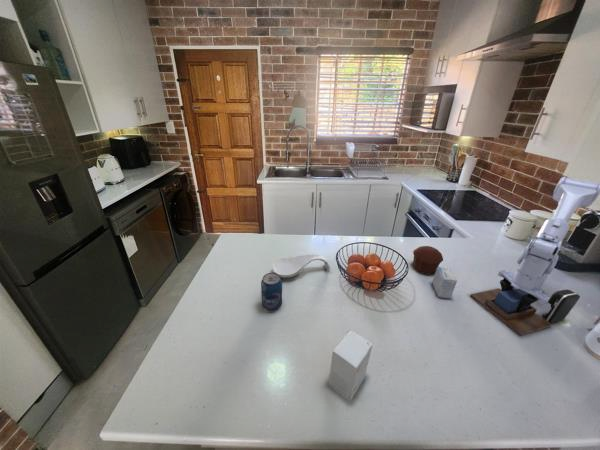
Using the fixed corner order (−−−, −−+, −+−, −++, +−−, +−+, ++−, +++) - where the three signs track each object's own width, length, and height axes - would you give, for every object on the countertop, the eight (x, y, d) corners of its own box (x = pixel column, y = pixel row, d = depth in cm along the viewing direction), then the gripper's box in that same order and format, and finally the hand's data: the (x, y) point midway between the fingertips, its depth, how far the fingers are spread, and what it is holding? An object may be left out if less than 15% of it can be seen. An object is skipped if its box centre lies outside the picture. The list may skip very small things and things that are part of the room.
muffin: (434, 262, 112) (440, 243, 107) (442, 277, 102) (449, 257, 97) (407, 259, 113) (412, 240, 109) (412, 274, 104) (418, 254, 99)
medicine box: (450, 299, 91) (457, 280, 87) (437, 297, 92) (444, 278, 88) (443, 285, 98) (450, 267, 94) (431, 283, 99) (437, 265, 95)
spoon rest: (274, 284, 95) (274, 269, 92) (270, 266, 105) (270, 252, 102) (332, 276, 100) (334, 262, 97) (323, 260, 110) (324, 246, 107)
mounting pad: (498, 290, 96) (501, 284, 95) (550, 326, 81) (555, 320, 80) (470, 296, 93) (473, 290, 91) (519, 335, 77) (523, 329, 76)
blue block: (512, 300, 90) (519, 287, 87) (527, 310, 85) (535, 297, 83) (491, 305, 87) (498, 292, 84) (505, 315, 83) (513, 302, 80)
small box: (344, 361, 68) (350, 328, 62) (365, 377, 64) (373, 343, 58) (327, 384, 62) (332, 350, 56) (349, 402, 59) (357, 368, 53)
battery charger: (551, 311, 87) (569, 286, 82) (564, 320, 84) (583, 294, 79) (536, 314, 86) (553, 289, 80) (548, 323, 82) (566, 297, 77)
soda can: (262, 314, 82) (260, 286, 76) (261, 299, 88) (260, 272, 82) (283, 312, 83) (283, 284, 77) (281, 297, 89) (281, 270, 83)
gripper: (498, 261, 85) (483, 291, 91) (545, 289, 72) (524, 322, 78) (513, 258, 86) (498, 288, 93) (562, 286, 74) (540, 318, 80)
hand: (511, 304), depth 86 cm, fingers closed on blue block, 5 cm apart
